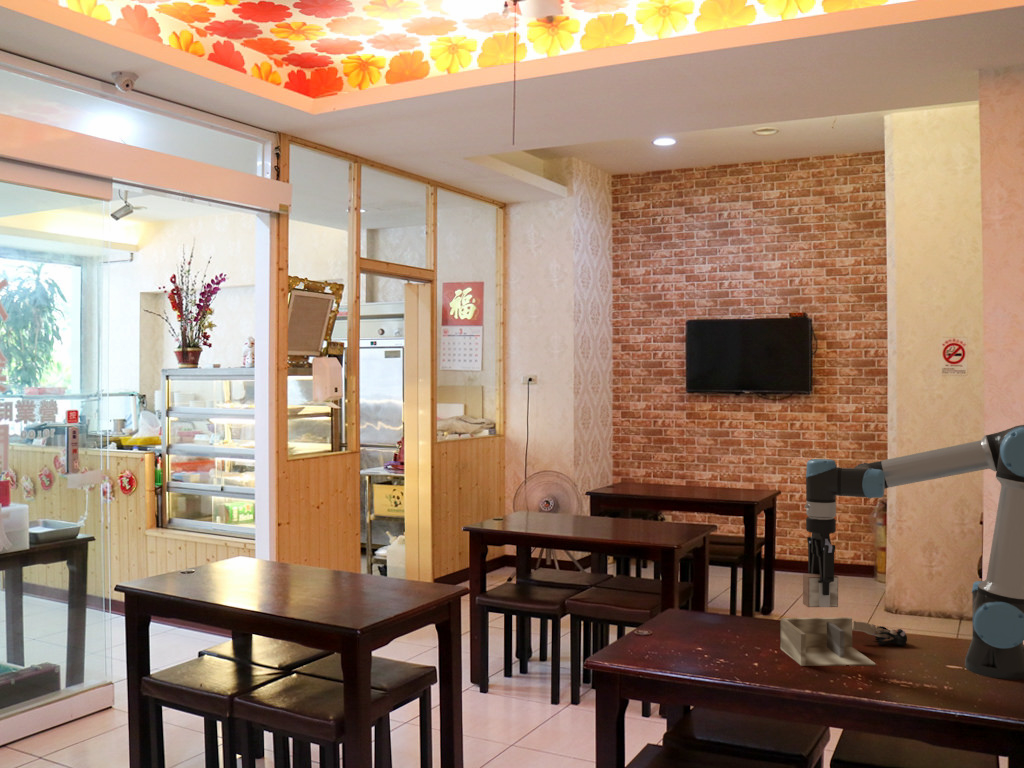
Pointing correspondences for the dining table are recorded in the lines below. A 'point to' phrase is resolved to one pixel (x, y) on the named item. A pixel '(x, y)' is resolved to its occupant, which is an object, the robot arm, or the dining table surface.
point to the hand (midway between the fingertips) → (820, 604)
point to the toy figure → (881, 633)
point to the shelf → (820, 642)
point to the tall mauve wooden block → (813, 590)
